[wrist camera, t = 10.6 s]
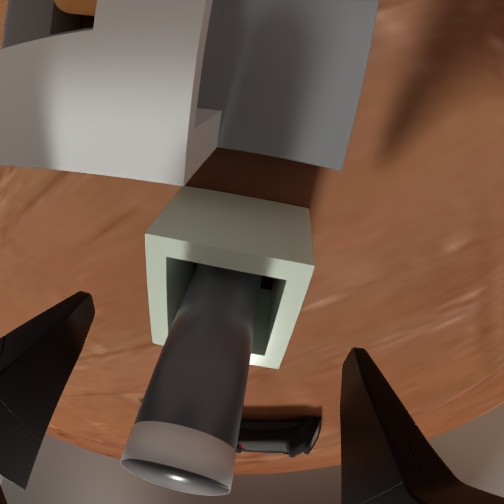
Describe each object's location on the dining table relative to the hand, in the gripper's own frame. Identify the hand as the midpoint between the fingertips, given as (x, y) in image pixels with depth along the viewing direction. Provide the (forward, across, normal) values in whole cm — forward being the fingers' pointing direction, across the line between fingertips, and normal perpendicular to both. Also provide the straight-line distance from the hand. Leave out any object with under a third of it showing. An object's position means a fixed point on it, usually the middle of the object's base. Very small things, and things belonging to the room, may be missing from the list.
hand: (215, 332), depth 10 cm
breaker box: (+5, +4, -11) cm, 13 cm away
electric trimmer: (+6, -1, +17) cm, 18 cm away
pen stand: (+5, 0, 0) cm, 5 cm away
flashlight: (+5, 0, 0) cm, 5 cm away
